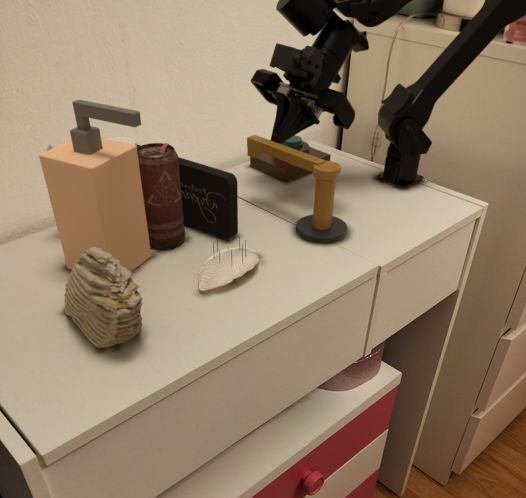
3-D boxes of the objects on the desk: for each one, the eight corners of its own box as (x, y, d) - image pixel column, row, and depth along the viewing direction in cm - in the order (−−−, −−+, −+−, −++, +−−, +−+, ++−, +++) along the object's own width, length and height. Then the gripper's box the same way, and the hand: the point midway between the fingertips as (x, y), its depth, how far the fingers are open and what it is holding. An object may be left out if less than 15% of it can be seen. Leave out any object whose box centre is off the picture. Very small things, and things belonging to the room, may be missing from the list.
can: (192, 233, 86) (185, 143, 77) (174, 253, 81) (164, 160, 72) (157, 227, 87) (146, 138, 78) (137, 246, 83) (123, 154, 74)
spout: (344, 183, 82) (346, 164, 80) (327, 191, 80) (329, 171, 78) (259, 151, 92) (259, 132, 90) (241, 157, 89) (241, 138, 87)
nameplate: (238, 237, 85) (237, 174, 79) (230, 242, 84) (229, 179, 78) (139, 201, 94) (131, 142, 88) (131, 205, 93) (123, 146, 86)
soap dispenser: (66, 268, 78) (24, 105, 64) (106, 242, 84) (76, 87, 69) (139, 293, 73) (111, 123, 59) (175, 263, 79) (159, 102, 65)
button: (290, 142, 107) (291, 133, 106) (305, 148, 105) (306, 138, 104) (276, 147, 105) (276, 138, 104) (290, 153, 103) (291, 143, 101)
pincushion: (219, 302, 72) (217, 264, 68) (184, 286, 75) (180, 249, 71) (271, 263, 79) (272, 227, 76) (238, 250, 82) (237, 215, 78)
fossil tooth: (100, 301, 74) (163, 345, 65) (56, 318, 70) (116, 367, 61) (82, 219, 67) (150, 256, 58) (33, 233, 64) (97, 274, 55)
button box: (293, 151, 113) (294, 131, 110) (329, 165, 107) (331, 145, 105) (250, 166, 107) (250, 145, 104) (286, 182, 101) (287, 161, 99)
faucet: (319, 214, 91) (324, 161, 86) (357, 232, 87) (364, 177, 81) (285, 230, 87) (287, 175, 81) (322, 249, 83) (328, 192, 77)
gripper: (259, 11, 85) (206, 100, 86) (352, 30, 74) (290, 131, 76) (293, 59, 94) (245, 139, 95) (379, 83, 83) (324, 172, 85)
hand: (273, 144), depth 88 cm, fingers closed, pressing on spout
